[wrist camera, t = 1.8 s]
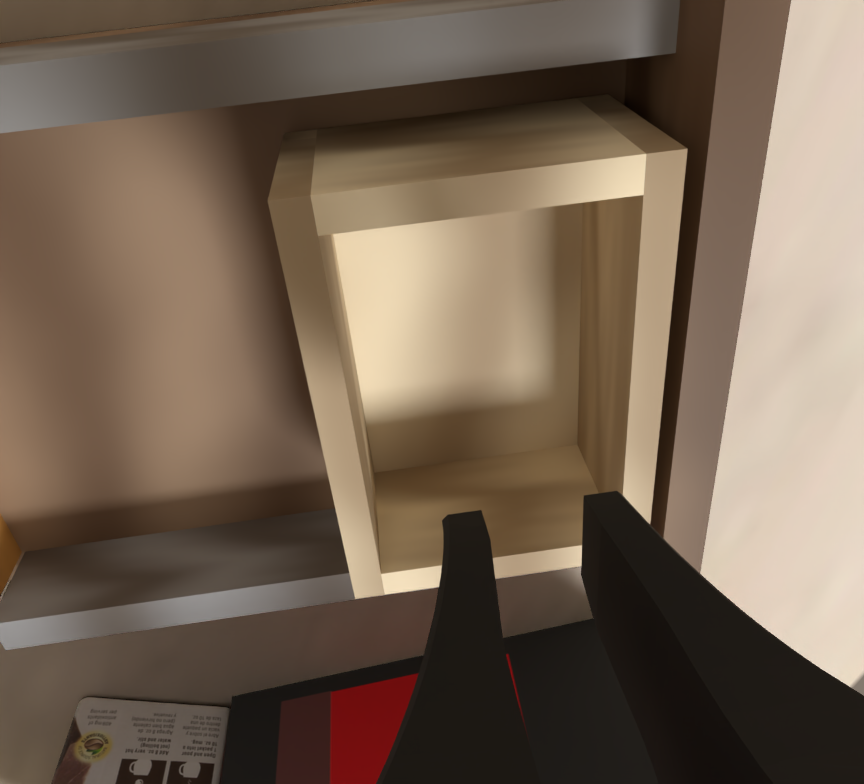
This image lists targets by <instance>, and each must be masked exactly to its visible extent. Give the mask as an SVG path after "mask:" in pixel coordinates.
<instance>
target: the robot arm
mask: <svg viewBox="0 0 864 784" xmlns="http://www.w3.org/2000/svg"><path fill="white" fill-rule="evenodd" d="M442 525H443V541H444V543H443V560H442V569H441V578H440V583H439V589H438V595H437V601H436V607H435V612H434V616H433V621H432V625H431V629H430V633H429V637H428V641H427V645H426V649H425V653H424V657H423V660H422V664H421V667H420V670H419V674H418V677H417V680H416V683H415V686H414V689H413V692H412V695H411V698H410V701H409V704H408V707H407V710H406V712H405V715H404V717H403V720H402V723H401V725H400V728H399V731H398V733H397V736H396V739H395V741H394V744H393V746H392V748H391V751H390V753H389V756H388V758H387V760H386V763H385V765H384V767H383V769H382V771H381V773H380V776H379V778H378V780H377V782H376V784H541V783H540V779H539V776H538V772H537V769H536V765H535V762H534V758H533V755H532V751H531V748H530V744H529V740H528V737H527V733H526V729H525V726H524V722H523V718H522V714H521V711H520V707H519V703H518V699H517V696H516V692H515V688H514V684H513V680H512V676H511V672H510V668H509V664H508V660H507V657H506V652H505V647H504V641H503V636H502V629H501V621H500V613H499V605H498V597H497V589H496V581H495V572H494V564H493V556H492V548H491V540H490V537H489V533H488V530H487V526H486V523H485V520H484V517H483V514H482V511H481V510H477V511H470V512H463V513H456V514H449V515H447V516H446V517H445V518H444V519H443V520H442ZM581 576H582V579H583V583H584V587H585V590H586V594H587V597H588V601H589V604H590V608H591V611H592V615H593V618H594V621H595V625H596V628H597V630H598V633H599V635H600V638H601V640H602V643H603V645H604V647H605V650H606V652H607V655H608V657H609V660H610V662H611V664H612V667H613V669H614V672H615V674H616V676H617V679H618V681H619V684H620V686H621V688H622V691H623V693H624V695H625V698H626V700H627V703H628V705H629V707H630V710H631V712H632V715H633V717H634V719H635V722H636V724H637V726H638V729H639V731H640V734H641V736H642V738H643V741H644V743H645V746H646V749H647V752H648V754H649V757H650V760H651V762H652V765H653V768H654V771H655V774H656V777H657V781H658V784H864V696H863V695H862V694H860V693H859V692H857V691H855V690H854V689H852V688H851V687H849V686H847V685H846V684H844V683H843V682H841V681H839V680H838V679H836V678H835V677H833V676H831V675H830V674H828V673H827V672H825V671H823V670H822V669H820V668H819V667H817V666H816V665H814V664H813V663H812V662H810V661H809V660H807V659H806V658H804V657H803V656H801V655H800V654H799V653H797V652H796V651H794V650H793V649H791V648H790V647H789V646H787V645H786V644H785V643H783V642H782V641H781V640H779V639H778V638H777V637H775V636H774V635H773V634H771V633H770V632H769V631H767V630H766V629H765V628H763V627H762V626H761V625H760V624H758V623H757V622H756V621H754V620H753V619H752V618H751V617H749V616H748V615H747V614H746V613H745V612H743V611H742V610H741V609H740V608H739V607H737V606H736V605H735V604H734V603H733V602H731V601H730V600H729V599H728V598H727V597H726V596H724V595H723V594H722V593H721V592H720V591H719V590H717V589H716V588H715V587H714V586H713V585H712V584H711V583H710V582H709V581H707V580H706V579H705V578H704V577H703V576H702V575H701V574H700V573H699V572H698V571H697V570H696V569H695V568H693V567H692V566H691V565H690V564H689V563H688V562H687V561H686V560H685V559H684V558H683V557H682V556H681V555H680V554H679V553H678V552H677V551H676V550H675V549H674V548H673V547H671V546H670V545H669V544H668V543H667V542H666V541H665V539H664V538H663V537H662V536H661V535H660V534H659V533H658V532H657V531H656V530H655V529H654V528H653V527H652V526H651V525H650V524H649V523H648V522H647V521H646V520H645V519H644V518H643V517H642V516H641V515H640V513H639V512H638V511H637V510H636V509H635V508H634V507H633V506H632V505H631V504H630V503H629V502H628V500H627V499H626V498H625V497H624V496H623V495H622V494H621V493H619V492H618V491H612V492H605V493H597V494H590V495H584V499H583V532H582V565H581Z"/></svg>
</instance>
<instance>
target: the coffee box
mask: <svg viewBox="0 0 864 784" xmlns="http://www.w3.org/2000/svg"><path fill="white" fill-rule="evenodd" d="M229 718H230V709H229V708H227V707H216V706H201V705H186V704H175V703H158V702H147V701H131V700H119V699H106V698H94V697H86V698H84V699H82V700H81V701H80V702H79V704H78V706H77V709H76V712H75V715H74V718H73V721H72V724H71V727H70V730H69V733H68V736H67V739H66V742H65V745H64V748H63V750H62V753H61V756H60V759H59V762H58V765H57V768H56V771H55V774H54V777H53V780H52V783H51V784H221V777H222V769H223V762H224V754H225V747H226V740H227V732H228V725H229Z"/></svg>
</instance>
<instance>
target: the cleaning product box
mask: <svg viewBox="0 0 864 784" xmlns="http://www.w3.org/2000/svg"><path fill="white" fill-rule="evenodd" d="M503 641H504V647H505V652H506V657H507V660H508V664H509V668H510V672H511V676H512V680H513V684H514V688H515V692H516V696H517V699H518V703H519V707H520V711H521V714H522V718H523V722H524V726H525V729H526V733H527V737H528V740H529V744H530V748H531V751H532V755H533V758H534V762H535V765H536V769H537V772H538V776H539V779H540V783H541V784H658V781H657V777H656V774H655V771H654V768H653V765H652V762H651V760H650V757H649V754H648V752H647V749H646V746H645V743H644V741H643V738H642V736H641V734H640V731H639V729H638V726H637V724H636V722H635V719H634V717H633V715H632V712H631V710H630V707H629V705H628V703H627V700H626V698H625V695H624V693H623V691H622V688H621V686H620V684H619V681H618V679H617V676H616V674H615V672H614V669H613V667H612V664H611V662H610V660H609V657H608V655H607V652H606V650H605V647H604V645H603V643H602V640H601V638H600V635H599V633H598V630H597V628H596V625H595V621H594V619H590V620H585V621H581V622H576V623H572V624H567V625H562V626H558V627H553V628H548V629H544V630H539V631H534V632H530V633H525V634H521V635H516V636H511V637H507V638H503ZM423 657H424V655H423V656H418V657H414V658H409V659H405V660H400V661H395V662H391V663H386V664H381V665H377V666H372V667H367V668H363V669H358V670H354V671H349V672H344V673H340V674H335V675H330V676H326V677H321V678H316V679H312V680H307V681H302V682H298V683H293V684H289V685H284V686H279V687H275V688H270V689H265V690H261V691H256V692H251V693H247V694H242V695H238V696H233V697H232V703H231V710H230V718H229V725H228V732H227V740H226V747H225V754H224V762H223V769H222V777H221V784H376V782H377V780H378V778H379V776H380V773H381V771H382V769H383V767H384V765H385V763H386V760H387V758H388V756H389V753H390V751H391V748H392V746H393V744H394V741H395V739H396V736H397V733H398V731H399V728H400V725H401V723H402V720H403V717H404V715H405V712H406V710H407V707H408V704H409V701H410V698H411V695H412V692H413V689H414V686H415V683H416V680H417V677H418V674H419V670H420V667H421V664H422V660H423Z"/></svg>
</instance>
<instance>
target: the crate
mask: <svg viewBox="0 0 864 784" xmlns="http://www.w3.org/2000/svg"><path fill="white" fill-rule="evenodd" d="M687 150H688V149H687V148H686V147H684V146H683V145H682V144H680V143H679V142H677V141H676V140H674V139H673V138H671V137H670V136H668V135H667V134H665V133H664V132H662V131H661V130H660V129H658V128H657V127H655V126H654V125H652V124H651V123H649V122H648V121H646V120H645V119H643V118H642V117H640V116H639V115H638V114H636V113H635V112H633V111H632V110H630V109H629V108H627V107H626V106H624V105H623V104H621V103H620V102H619V101H617V100H616V99H614V98H613V97H611V96H610V95H608V94H606V95H597V96H589V97H581V98H573V99H564V100H556V101H548V102H539V103H531V104H523V105H515V106H506V107H498V108H490V109H481V110H473V111H465V112H456V113H448V114H440V115H432V116H423V117H415V118H407V119H398V120H390V121H382V122H374V123H365V124H357V125H349V126H340V127H332V128H324V129H315V130H307V131H299V132H291V133H284V136H283V140H282V144H281V149H280V153H279V157H278V161H277V165H276V169H275V173H274V177H273V181H272V185H271V189H270V193H269V197H268V205H269V209H270V214H271V218H272V223H273V228H274V232H275V237H276V241H277V246H278V250H279V255H280V259H281V264H282V268H283V273H284V277H285V282H286V287H287V291H288V296H289V300H290V305H291V309H292V314H293V318H294V323H295V327H296V332H297V337H298V341H299V346H300V350H301V355H302V359H303V364H304V368H305V373H306V378H307V382H308V387H309V391H310V396H311V400H312V405H313V409H314V414H315V418H316V423H317V428H318V432H319V437H320V441H321V446H322V450H323V455H324V459H325V464H326V468H327V473H328V478H329V482H330V487H331V491H332V496H333V500H334V505H335V509H336V514H337V518H338V523H339V528H340V532H341V537H342V541H343V546H344V550H345V555H346V559H347V564H348V568H349V573H350V578H351V582H352V587H353V591H354V596H355V599H358V598H365V597H372V596H379V595H386V594H393V593H400V592H407V591H414V590H421V589H427V588H434V587H439V583H440V578H441V569H442V560H443V543H444V541H443V525H442V520H443V519H444V518H445V517H446V516H447V515H449V514H456V513H463V512H470V511H477V510H481V511H482V514H483V517H484V520H485V523H486V526H487V530H488V533H489V537H490V540H491V548H492V556H493V564H494V572H495V579H496V578H503V577H510V576H517V575H524V574H531V573H538V572H545V571H552V570H559V569H565V568H572V567H579V566H581V565H582V532H583V499H584V495H590V494H597V493H605V492H612V491H618V492H619V493H621V494H622V495H623V496H624V497H625V498H626V499H627V500H628V502H629V503H630V504H631V505H632V506H633V507H634V508H635V509H636V510H637V511H638V512H639V513H640V515H641V516H642V517H643V518H644V519H645V520H646V521H647V522H648V523H649V524H650V522H651V512H652V502H653V492H654V482H655V472H656V462H657V452H658V442H659V431H660V421H661V411H662V401H663V391H664V381H665V371H666V361H667V351H668V341H669V331H670V321H671V311H672V301H673V291H674V281H675V271H676V261H677V251H678V241H679V231H680V220H681V210H682V200H683V190H684V180H685V170H686V160H687Z"/></svg>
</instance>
